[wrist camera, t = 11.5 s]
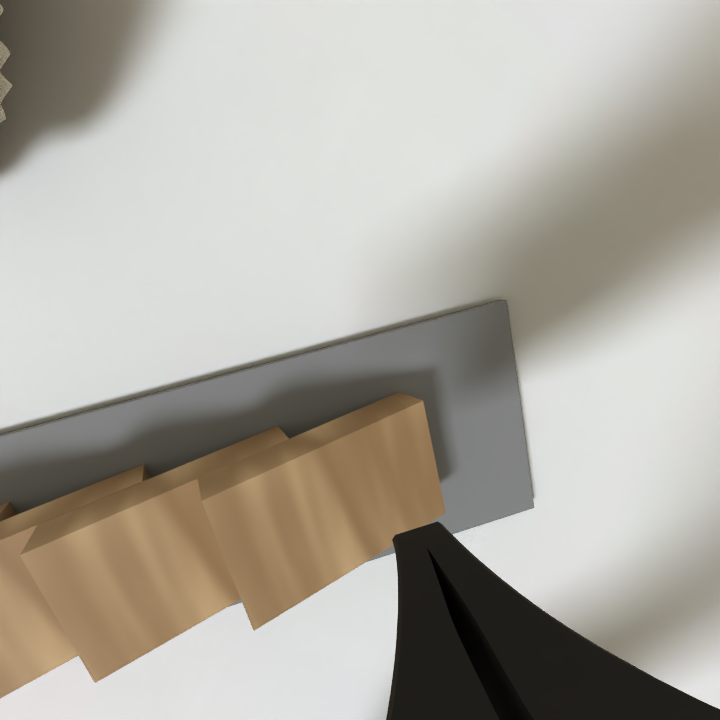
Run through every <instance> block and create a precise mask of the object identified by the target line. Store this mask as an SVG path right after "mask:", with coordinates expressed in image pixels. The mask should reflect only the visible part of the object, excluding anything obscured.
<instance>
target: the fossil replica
mask: <svg viewBox="0 0 720 720" xmlns="http://www.w3.org/2000/svg"><path fill="white" fill-rule="evenodd" d="M3 10H4V9H3V7H2V6H1V4H0V15H1V14H2V12H3ZM9 56H10V52H9V50H8V48H7V47H6V46H5V45H4V44H3V43H2V42H1V41H0V69H1V68H2V66H3V65H4V63H5V62H6V60H7V59H8V58H9ZM12 86H13V85H12V84H11V83H10V82H9V81H8V80H7V79H6V78H5V77H4V76H3V75H2V74H1V73H0V104H1V102H2V101H3V99H4V97H5V96H6V94H7V93H8V91H9V90H10V89H11V87H12ZM4 120H6V116H5V113H4V110H3V108H2V106H1V105H0V122H2V121H4Z"/></svg>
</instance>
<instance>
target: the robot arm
mask: <svg viewBox="0 0 720 720" xmlns="http://www.w3.org/2000/svg"><path fill="white" fill-rule="evenodd" d="M392 541H393V545H394V549H395V553H396V560H397V571H398V622H397V640H396V652H395V662H394V671H393V679H392V687H391V694H390V700H389V706H388V712H387V719H386V720H720V709H718V708H715V707H713V706H711V705H709V704H707V703H704V702H702V701H700V700H698V699H696V698H694V697H692V696H690V695H688V694H686V693H684V692H682V691H680V690H678V689H676V688H674V687H672V686H670V685H668V684H666V683H664V682H662V681H660V680H658V679H656V678H654V677H653V676H651V675H649V674H647V673H646V672H644V671H642V670H640V669H638V668H637V667H635V666H633V665H631V664H629V663H628V662H626V661H624V660H622V659H620V658H619V657H617V656H615V655H613V654H611V653H610V652H608V651H606V650H604V649H602V648H601V647H599V646H597V645H596V644H594V643H592V642H591V641H589V640H588V639H586V638H584V637H583V636H581V635H580V634H578V633H576V632H575V631H573V630H571V629H570V628H568V627H567V626H565V625H564V624H562V623H561V622H559V621H558V620H556V619H555V618H553V617H552V616H550V615H549V614H547V613H546V612H545V611H543V610H542V609H540V608H539V607H538V606H536V605H535V604H533V603H532V602H531V601H529V600H528V599H527V598H525V597H524V596H523V595H521V594H520V593H519V592H517V591H516V590H515V589H513V588H512V587H511V586H510V585H508V584H507V583H506V582H505V581H503V580H502V579H501V578H500V577H498V576H497V575H496V574H495V573H494V572H492V571H491V570H490V569H489V568H488V567H487V566H485V565H484V564H483V563H482V562H481V561H480V560H478V559H477V558H476V557H475V556H474V555H473V554H472V553H471V552H470V551H468V550H467V549H466V548H465V547H464V546H463V545H462V544H461V543H460V542H459V541H458V540H457V539H456V538H455V537H454V536H453V535H452V534H451V533H450V532H449V531H448V530H447V529H446V528H445V527H444V526H443V524H441V523H440V522H438V521H437V522H434V523H431V524H428V525H425V526H422V527H418V528H415V529H412V530H409V531H406V532H403V533H400V534H396V535H395V536H394V538H393V539H392Z"/></svg>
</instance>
